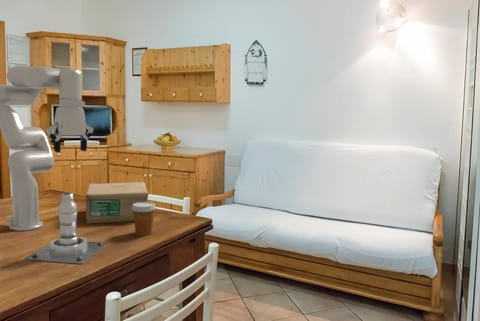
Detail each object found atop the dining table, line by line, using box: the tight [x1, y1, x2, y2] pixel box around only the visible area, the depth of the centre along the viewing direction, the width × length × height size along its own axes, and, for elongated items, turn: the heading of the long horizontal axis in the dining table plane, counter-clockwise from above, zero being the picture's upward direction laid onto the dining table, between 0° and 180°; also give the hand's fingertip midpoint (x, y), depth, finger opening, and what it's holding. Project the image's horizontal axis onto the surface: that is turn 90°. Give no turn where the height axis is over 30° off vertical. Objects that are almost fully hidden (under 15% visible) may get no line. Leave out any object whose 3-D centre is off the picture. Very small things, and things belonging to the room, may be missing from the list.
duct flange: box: [24, 236, 109, 265], centre depth 147 cm, size 20×20×4 cm
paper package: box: [85, 181, 149, 224], centre depth 197 cm, size 27×26×14 cm
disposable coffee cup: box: [132, 201, 157, 236], centre depth 171 cm, size 10×10×12 cm
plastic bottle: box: [57, 192, 79, 246], centre depth 146 cm, size 6×7×20 cm
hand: (70, 151), depth 154 cm, fingers open, 9 cm apart
